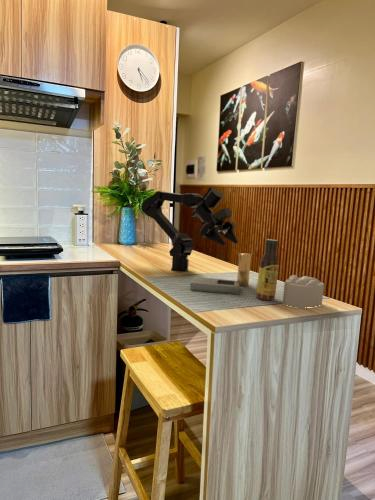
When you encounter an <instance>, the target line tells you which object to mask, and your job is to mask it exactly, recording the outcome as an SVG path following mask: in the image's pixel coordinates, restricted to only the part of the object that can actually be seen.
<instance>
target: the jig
mask: <svg viewBox="0 0 375 500" xmlns="http://www.w3.org/2000/svg"><path fill="white" fill-rule="evenodd" d="M189 285H190V286H189V290H190V291H197V292H198V291H200V292H210V293H221V294H229V295H239V294H240V289H241V288H240V287H241V286H240V281H237V280H233V279H232V280H231V279H222V278H213V277H201V276H194V277H193V279H192V280H191V282H190V284H189Z"/></svg>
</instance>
